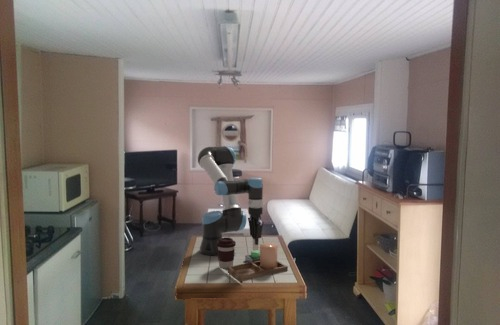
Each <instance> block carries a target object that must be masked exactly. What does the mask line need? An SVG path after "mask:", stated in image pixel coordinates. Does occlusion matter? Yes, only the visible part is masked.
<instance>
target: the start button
mask: <svg viewBox="0 0 500 325" xmlns="http://www.w3.org/2000/svg"><path fill="white" fill-rule="evenodd" d="M250 254H251V258H253V259H255V258H260V250H255V251H254V250H252V251H250Z"/></svg>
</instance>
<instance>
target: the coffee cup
mask: <svg viewBox="0 0 500 325" xmlns="http://www.w3.org/2000/svg"><path fill="white" fill-rule="evenodd" d="M236 244H237V243H236V241H235V240H233V238H232V237H222V238H221V239H220V240H219V241H218V242H217V246H218V255H217V256H218V257H217V258H218V264H219V268H220V269H222V270H226V268H228V267H230V266H234V261H235V260H234V259H235V246H236Z"/></svg>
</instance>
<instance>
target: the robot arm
mask: <svg viewBox="0 0 500 325" xmlns="http://www.w3.org/2000/svg"><path fill="white" fill-rule="evenodd" d="M234 150H235V149H233V148H232V147H230V146H226V145H225V146H207V147H204V148H202V149H201V150H200V151H199V153H198V156H197V164H198V165H199V166H200V168H201V169H203V170H204V171H205V172H206V173H207V175H208V176H209V178H210V180H212V181H213V183H214V187H213V188H214V189H213V190H214V192H215V195H216V196H222V204H223V209H222V210H221V211H220V210H211V211H208V212H205V213H204V214H203V215H202V221H201V223H202V224H201V225H202V226H201V227H202V232H201V233H202V239H201V243H200V244H199V245H200V246H199V253H200V254H202V255H206V256H218V246H217V242H218V241H219V240H220V239H221V238H223V234H225V233H232V232H233V233H234V232H238V231H239V232H240V231H243V230H244V229H245V227H246V225H247V222H248V227H249V228H248V229H249V235H250V236H251V238H252V251H259V245H260V244H259V239H261V238H262V234H263V226H264V221H262V217H261V215H263V211H264V210H263V209H264V208H263V203H264V202H263V197H264V196H263V190H264V189H263V187H264V185H263V184H264V183H263V179H262V178H261V177H249V179H247V178H241V179H238V180H237V179H236V180H234V175H233V174H234V173H233V170H232V169H233V167H234V165H235V163H236V158H237V156H236V153H235V151H234ZM243 194H247V195H248V215H250V216H249V217H247V214H246V212H245V211H244V210H242V208H241V206H240V205H239V204H238V197H237V195H243Z"/></svg>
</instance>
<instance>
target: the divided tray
mask: <svg viewBox="0 0 500 325" xmlns="http://www.w3.org/2000/svg"><path fill="white" fill-rule="evenodd" d="M286 271H289V270H288V265H286V264H284V263H282V262H281V261H278V260H277V268H274V269H269V270H263V269H262V268H260V261H256V262H250V263H248V262H246V263H241V264H235V265H233V266H230V267H227V274H228V273H229V274H228V275H230V276H231V277H233V279H235V280H236V281H237V282H239V283H240V284H241V283H243V281H245V280H249V279H253V278H258V277H264V276H268V275H272V274H276V273H277V274H278V273H281V272H286Z"/></svg>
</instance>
